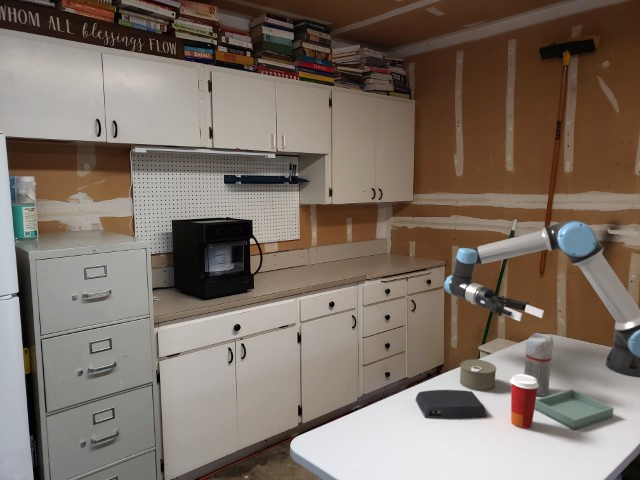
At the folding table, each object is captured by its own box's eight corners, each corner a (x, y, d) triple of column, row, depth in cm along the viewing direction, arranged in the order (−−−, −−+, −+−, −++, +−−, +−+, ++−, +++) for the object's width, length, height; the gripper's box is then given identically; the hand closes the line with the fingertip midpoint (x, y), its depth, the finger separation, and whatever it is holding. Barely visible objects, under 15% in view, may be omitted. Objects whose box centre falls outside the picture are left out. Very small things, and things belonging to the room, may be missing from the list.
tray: (570, 397, 157) (571, 389, 156) (612, 417, 144) (613, 408, 144) (532, 408, 149) (533, 399, 148) (573, 430, 136) (574, 420, 136)
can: (498, 382, 168) (499, 363, 167) (490, 395, 158) (491, 375, 157) (464, 374, 174) (465, 356, 174) (454, 386, 164) (456, 367, 163)
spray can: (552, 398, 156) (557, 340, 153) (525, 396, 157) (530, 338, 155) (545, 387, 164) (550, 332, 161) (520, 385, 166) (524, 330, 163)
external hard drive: (414, 400, 154) (414, 388, 154) (472, 399, 155) (473, 388, 155) (425, 420, 141) (425, 407, 141) (488, 420, 142) (489, 407, 142)
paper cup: (534, 419, 142) (537, 375, 140) (536, 432, 135) (540, 386, 133) (506, 415, 144) (509, 371, 143) (507, 427, 137) (510, 381, 135)
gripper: (498, 303, 187) (548, 323, 170) (457, 307, 172) (508, 329, 155) (502, 285, 185) (553, 303, 169) (461, 287, 171) (513, 308, 154)
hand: (532, 316), depth 162 cm, fingers open, 13 cm apart
